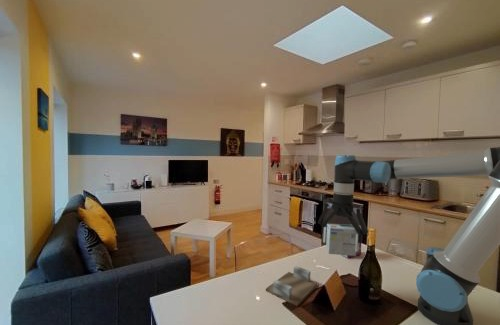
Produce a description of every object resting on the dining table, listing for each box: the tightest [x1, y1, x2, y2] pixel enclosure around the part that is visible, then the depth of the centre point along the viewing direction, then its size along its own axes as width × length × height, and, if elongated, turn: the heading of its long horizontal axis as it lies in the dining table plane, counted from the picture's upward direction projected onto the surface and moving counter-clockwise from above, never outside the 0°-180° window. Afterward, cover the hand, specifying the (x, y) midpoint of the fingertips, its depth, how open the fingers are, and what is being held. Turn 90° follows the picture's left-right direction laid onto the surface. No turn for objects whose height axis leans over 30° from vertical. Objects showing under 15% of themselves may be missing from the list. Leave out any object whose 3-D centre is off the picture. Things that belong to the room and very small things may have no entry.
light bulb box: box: [325, 222, 357, 257], centre depth 96 cm, size 11×7×11 cm, turn 84°
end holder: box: [265, 265, 319, 307], centre depth 97 cm, size 14×18×5 cm
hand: (340, 245), depth 96 cm, fingers closed on light bulb box, 12 cm apart
